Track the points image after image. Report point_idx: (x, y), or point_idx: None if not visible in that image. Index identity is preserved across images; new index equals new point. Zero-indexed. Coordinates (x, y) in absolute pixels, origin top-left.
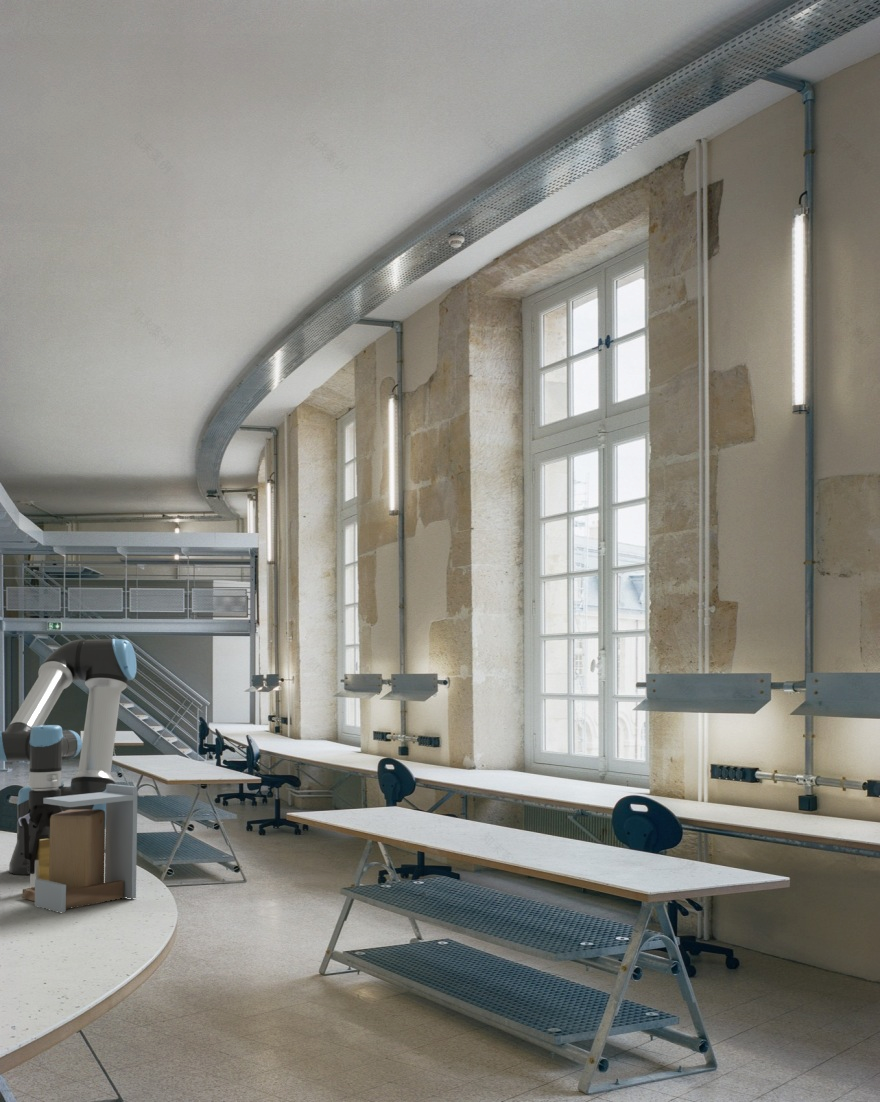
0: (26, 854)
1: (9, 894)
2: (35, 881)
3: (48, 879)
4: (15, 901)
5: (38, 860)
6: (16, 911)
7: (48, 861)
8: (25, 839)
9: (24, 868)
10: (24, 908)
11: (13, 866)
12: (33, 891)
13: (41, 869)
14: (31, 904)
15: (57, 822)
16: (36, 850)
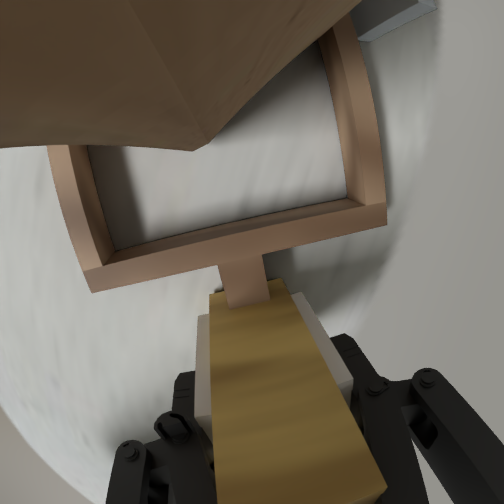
0: (434, 388)
1: (360, 323)
2: (428, 9)
3: (244, 316)
4: (398, 181)
5: (336, 382)
6: (425, 27)
7: (262, 383)
8: (496, 454)
9: None
10: (402, 40)
11: None
12: (372, 132)
13: (301, 340)
14: (372, 78)
15: None
16: (377, 433)
